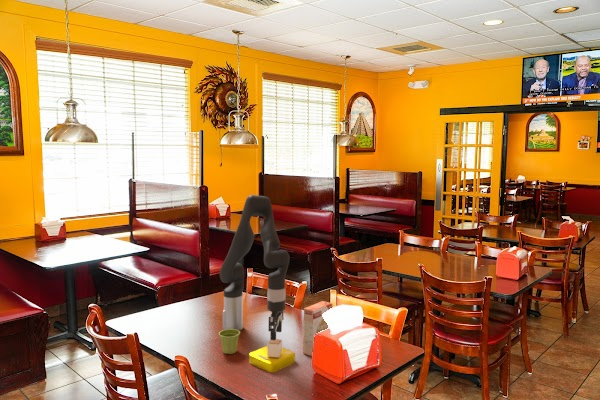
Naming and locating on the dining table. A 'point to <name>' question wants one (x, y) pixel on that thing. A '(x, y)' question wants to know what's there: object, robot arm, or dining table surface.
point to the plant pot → (229, 340)
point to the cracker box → (313, 324)
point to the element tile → (271, 359)
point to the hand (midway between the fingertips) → (276, 335)
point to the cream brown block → (274, 348)
